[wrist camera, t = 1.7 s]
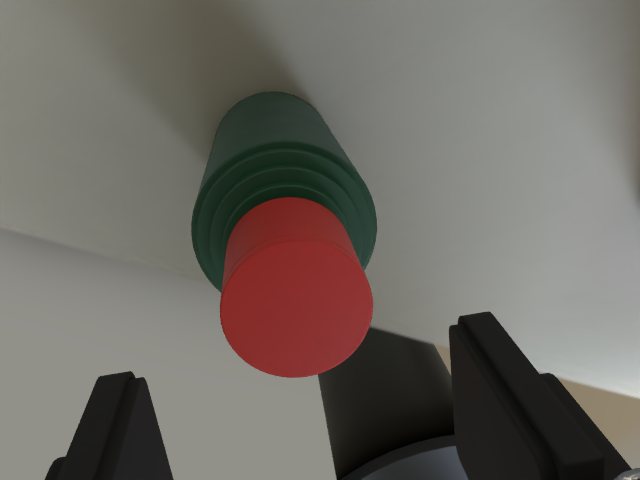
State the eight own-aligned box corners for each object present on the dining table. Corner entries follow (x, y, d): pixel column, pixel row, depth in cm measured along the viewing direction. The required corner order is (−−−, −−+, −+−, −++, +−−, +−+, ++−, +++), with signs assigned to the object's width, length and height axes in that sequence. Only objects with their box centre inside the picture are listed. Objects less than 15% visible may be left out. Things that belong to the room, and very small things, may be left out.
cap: (357, 303, 20) (380, 367, 16) (238, 323, 20) (235, 391, 16) (343, 187, 18) (365, 228, 15) (215, 206, 18) (206, 254, 15)
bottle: (338, 198, 35) (424, 385, 17) (225, 216, 34) (198, 424, 17) (324, 83, 32) (406, 166, 15) (203, 101, 32) (145, 206, 15)
